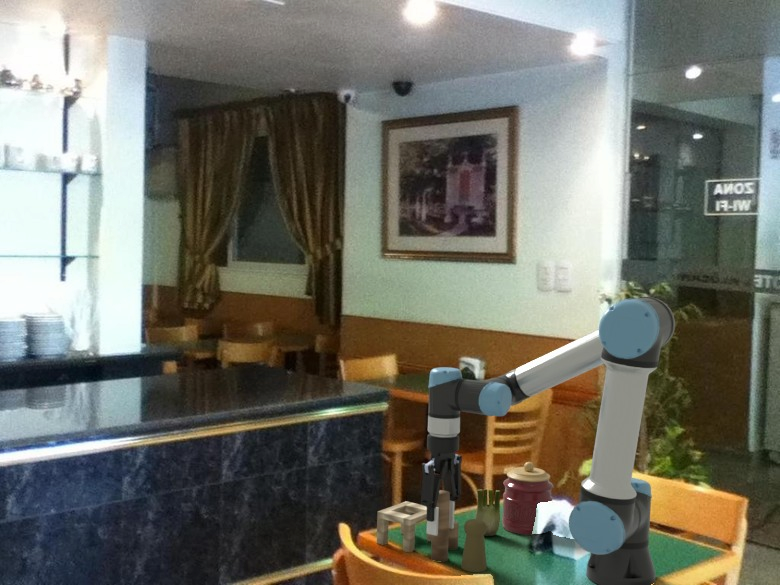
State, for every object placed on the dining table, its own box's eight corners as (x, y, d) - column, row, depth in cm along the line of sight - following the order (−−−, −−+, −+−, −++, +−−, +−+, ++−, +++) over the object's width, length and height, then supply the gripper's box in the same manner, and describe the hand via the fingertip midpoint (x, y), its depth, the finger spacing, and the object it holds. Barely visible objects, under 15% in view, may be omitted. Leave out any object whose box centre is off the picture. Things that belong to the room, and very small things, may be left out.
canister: (492, 523, 253) (494, 458, 252) (533, 518, 259) (536, 454, 258) (519, 538, 241) (521, 470, 240) (561, 532, 247) (564, 465, 246)
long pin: (451, 558, 225) (453, 492, 224) (441, 563, 222) (443, 496, 221) (437, 555, 227) (439, 489, 226) (427, 559, 224) (429, 492, 223)
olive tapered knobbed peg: (485, 572, 216) (487, 525, 216) (459, 570, 218) (460, 523, 217) (488, 563, 222) (490, 517, 222) (462, 561, 224) (464, 515, 223)
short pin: (461, 546, 234) (461, 522, 234) (452, 550, 231) (452, 526, 230) (447, 543, 236) (448, 519, 236) (438, 547, 233) (439, 523, 233)
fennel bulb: (500, 534, 244) (502, 488, 243) (492, 539, 240) (494, 493, 239) (480, 530, 247) (481, 485, 246) (472, 535, 243) (473, 489, 242)
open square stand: (437, 540, 238) (438, 508, 238) (409, 552, 229) (410, 519, 228) (405, 531, 244) (406, 501, 244) (376, 543, 235) (377, 511, 234)
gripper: (452, 425, 232) (449, 518, 234) (406, 437, 217) (403, 536, 219) (478, 430, 228) (475, 524, 229) (433, 443, 213) (430, 544, 214)
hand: (440, 530), depth 224 cm, fingers open, 6 cm apart
